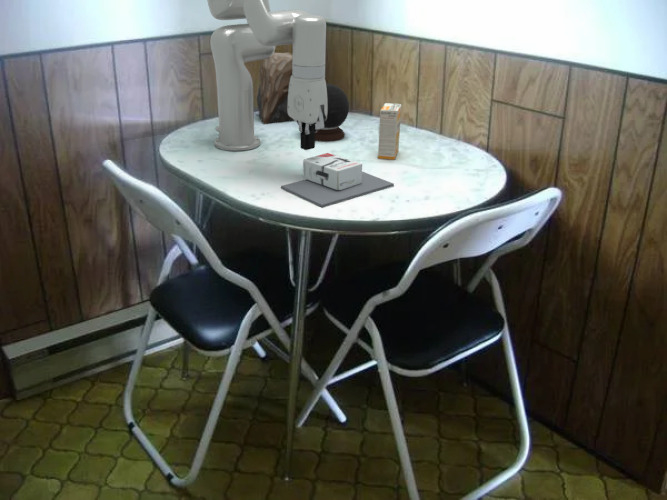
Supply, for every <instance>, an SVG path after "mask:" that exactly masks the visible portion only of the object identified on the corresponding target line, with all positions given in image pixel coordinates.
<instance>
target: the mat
mask: <svg viewBox="0 0 667 500" xmlns="http://www.w3.org/2000/svg"><path fill="white" fill-rule="evenodd" d="M394 184H395V183H393V182H390V181H388V180H385V179H384V178H383V179H382V178H380V177H377V176H375V175H373V174H370V173H368V172H365V171H362V182H361V183H360V184H357V185H354V186H351V187H348V188H346V189H342V190H335V189H332V188H329V187H326V186H324V185H321V184H318V183H315V182H312V181H309V180H307V179H303V180H299V181H295V182H290V183H287V184H283V185H281V186H280V189H282V190H284V191H286V192H288V193H290V194H293V195H295V196H297V197H298V198H300V199H303V200H305V201H307V202H310V203H311V204H313V205H316V206H318V207H320V208H325V207H328V206H332V205H335V204H338V203H341V202H346V201H348V200H351V199H354V198H359V197H362V196H365V195H369V194H371V193H374V192H378V191H381V190H385V189H389V188H392V187H394Z"/></svg>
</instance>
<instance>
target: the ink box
mask: <svg viewBox="0 0 667 500" xmlns="http://www.w3.org/2000/svg"><path fill="white" fill-rule="evenodd" d="M362 172H363V163H361V162H358V161H355V160H351V159H349V158H346V157H341V156H339V155H336V154H332V153H329V152H327V153H322V154H319V155H316V156H312V157H308V158H305V159H303V160H302V179H303V180H305V179H307V180H309V181H312V182H315V183H318V184H321V185H324V186H326V187H329V188H332V189H335V190H342V189H346V188H348V187H351V186H354V185H357V184H360V183H361V182H362Z"/></svg>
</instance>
